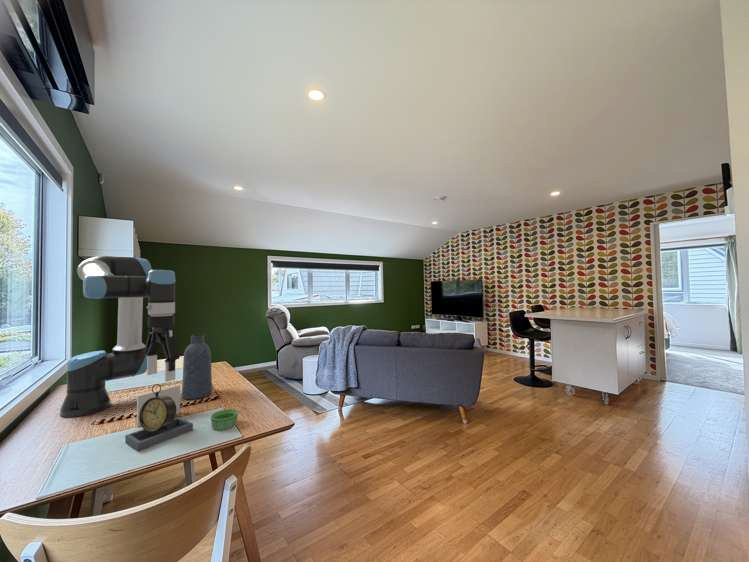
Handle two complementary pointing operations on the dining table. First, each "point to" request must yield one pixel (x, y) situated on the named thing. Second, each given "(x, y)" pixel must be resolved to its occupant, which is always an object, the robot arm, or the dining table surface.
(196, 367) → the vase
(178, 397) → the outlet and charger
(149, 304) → the robot arm
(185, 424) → the dock
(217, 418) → the ramekin
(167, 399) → the alarm clock
